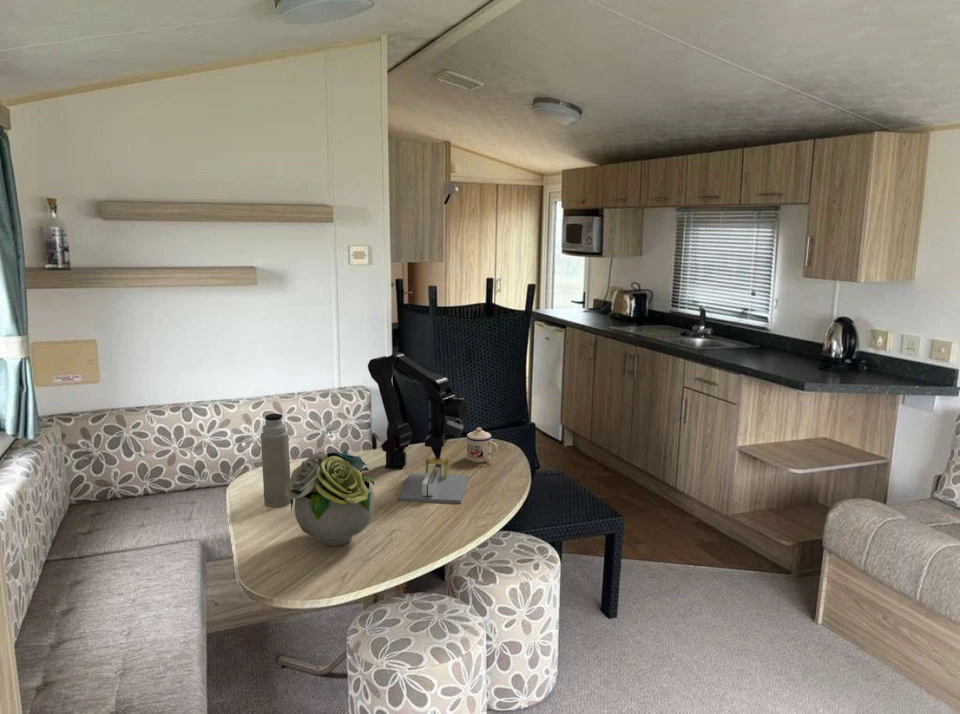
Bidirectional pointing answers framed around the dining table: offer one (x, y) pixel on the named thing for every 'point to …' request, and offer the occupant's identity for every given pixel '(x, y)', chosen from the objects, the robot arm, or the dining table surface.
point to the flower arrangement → (331, 496)
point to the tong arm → (434, 481)
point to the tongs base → (445, 490)
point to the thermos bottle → (275, 461)
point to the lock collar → (438, 461)
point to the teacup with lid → (479, 446)
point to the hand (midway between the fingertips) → (438, 458)
